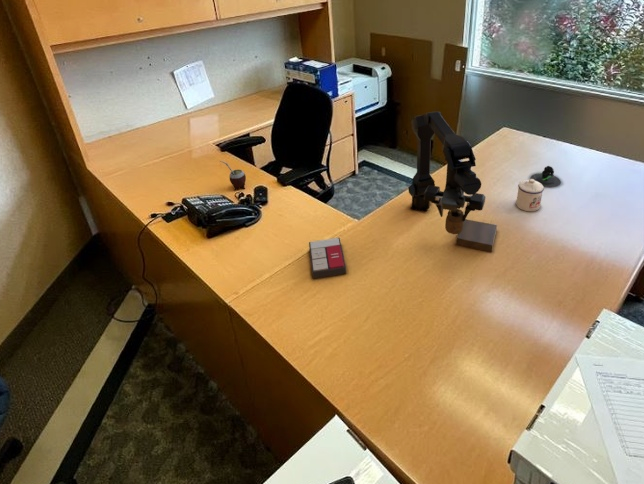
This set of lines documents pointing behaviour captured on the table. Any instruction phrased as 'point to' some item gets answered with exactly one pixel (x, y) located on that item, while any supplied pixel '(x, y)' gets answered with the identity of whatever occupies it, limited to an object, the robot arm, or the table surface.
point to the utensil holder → (454, 221)
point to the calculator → (327, 258)
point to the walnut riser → (477, 235)
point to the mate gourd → (237, 178)
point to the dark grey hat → (547, 178)
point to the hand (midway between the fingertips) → (452, 218)
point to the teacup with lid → (529, 195)
